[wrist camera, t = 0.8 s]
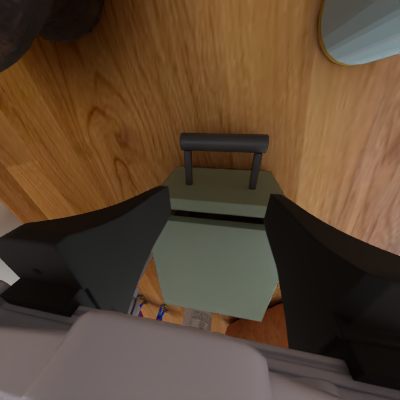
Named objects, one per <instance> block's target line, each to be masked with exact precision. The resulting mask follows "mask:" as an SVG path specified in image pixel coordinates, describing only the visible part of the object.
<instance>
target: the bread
mask: <svg viewBox="0 0 400 400" xmlns="http://www.w3.org/2000/svg"><path fill="white" fill-rule="evenodd" d="M225 335H228V336H231V337H235V338H240V339H245V340H249V341H254V342H259V343H264V344H269V345H274V346H278V347H283V348H288V339H287V331H286V323H285V316H284V309H283V303H281V304H278V305H276V306H274V307H272V308H270V309H266V312H265V314H264V316H263V319H262V321H261V322H260V321H254V320H249V319H244V318H241V319H239V320H237V321H236V322H234V323H231V324H229V326H228V327H227V330H226V333H225ZM288 349H289V348H288Z"/></svg>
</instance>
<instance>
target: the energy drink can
mask: <svg viewBox="0 0 400 400" xmlns="http://www.w3.org/2000/svg"><path fill="white" fill-rule="evenodd" d="M211 321H212V312H207V311H201V310H196V309H191V308H186V309H185V314H184V318H183V323H182V325H184V326H188V327H193V328H198V329H203V330H208V331H211Z"/></svg>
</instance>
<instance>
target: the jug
mask: <svg viewBox="0 0 400 400" xmlns="http://www.w3.org/2000/svg"><path fill="white" fill-rule="evenodd" d="M103 3H104V0H0V72H2V71H4V70H5V69H7V68H9V67H10V66H12V65H13V64H14V63H15V62H17V61H18V60H19V59H20V58H21V57H22V56H23V55H24V54H25V53H26V52H27V51H28V50H29V48H30V46H31V44H32V42H33V40H34V38H35V37H36V36H37V34H38V35H40V36H41V37H43V38H44V39H46V40H49V41H51V42H53V43H54V44H55V41H58V42H69V41H75V40H77V39H80V38H82V37H83V36H84V35H85V34H86V33H88V32H90V31H92V28H93V27H94V26H95V25H96V24H97V22H98V19H99V15H100V12H101V9H102V6H103ZM44 39H43V40H44Z"/></svg>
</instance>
